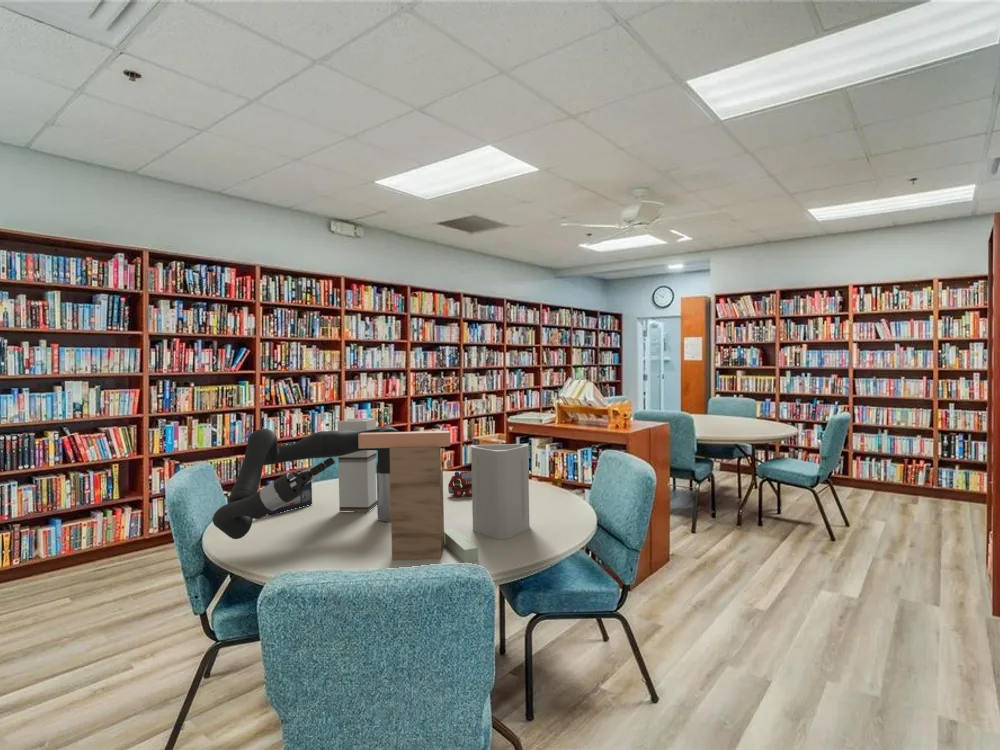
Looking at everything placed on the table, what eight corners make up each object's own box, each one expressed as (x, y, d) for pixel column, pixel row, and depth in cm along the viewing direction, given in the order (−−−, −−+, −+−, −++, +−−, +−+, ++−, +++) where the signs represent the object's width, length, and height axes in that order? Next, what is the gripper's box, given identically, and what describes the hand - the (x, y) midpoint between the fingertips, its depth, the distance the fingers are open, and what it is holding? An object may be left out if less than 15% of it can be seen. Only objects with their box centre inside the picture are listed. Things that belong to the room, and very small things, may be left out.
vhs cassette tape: (270, 516, 204) (269, 489, 203) (266, 515, 205) (265, 488, 205) (313, 505, 218) (312, 481, 218) (308, 504, 220) (308, 480, 220)
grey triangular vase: (471, 540, 170) (470, 451, 170) (473, 526, 185) (471, 445, 185) (532, 538, 171) (530, 450, 170) (528, 524, 186) (527, 443, 185)
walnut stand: (398, 545, 166) (396, 442, 166) (444, 544, 166) (442, 441, 166) (392, 559, 154) (389, 448, 154) (441, 558, 154) (438, 447, 154)
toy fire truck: (447, 494, 232) (446, 470, 232) (475, 492, 235) (474, 468, 235) (449, 498, 226) (449, 473, 225) (478, 496, 229) (478, 471, 228)
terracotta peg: (361, 446, 158) (361, 432, 158) (450, 444, 159) (450, 430, 159) (358, 448, 154) (358, 434, 154) (449, 446, 155) (449, 432, 155)
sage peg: (442, 543, 169) (442, 530, 169) (455, 541, 170) (454, 528, 170) (464, 564, 151) (464, 549, 151) (478, 561, 152) (477, 547, 152)
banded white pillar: (377, 505, 216) (375, 418, 216) (368, 512, 206) (366, 420, 205) (349, 505, 217) (347, 418, 217) (339, 512, 207) (337, 421, 206)
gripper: (296, 496, 163) (342, 468, 163) (278, 509, 149) (328, 478, 149) (283, 475, 163) (329, 447, 163) (264, 486, 149) (314, 455, 149)
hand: (329, 462), depth 156 cm, fingers open, 8 cm apart
